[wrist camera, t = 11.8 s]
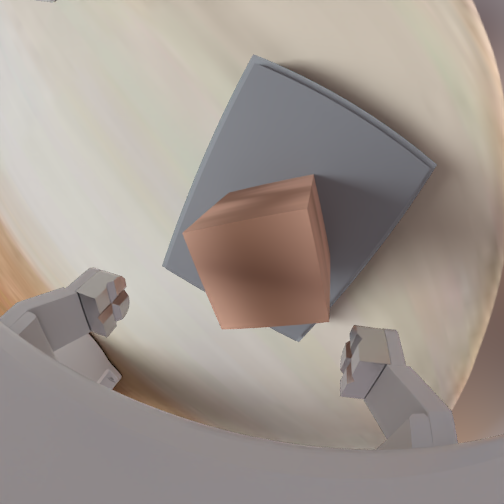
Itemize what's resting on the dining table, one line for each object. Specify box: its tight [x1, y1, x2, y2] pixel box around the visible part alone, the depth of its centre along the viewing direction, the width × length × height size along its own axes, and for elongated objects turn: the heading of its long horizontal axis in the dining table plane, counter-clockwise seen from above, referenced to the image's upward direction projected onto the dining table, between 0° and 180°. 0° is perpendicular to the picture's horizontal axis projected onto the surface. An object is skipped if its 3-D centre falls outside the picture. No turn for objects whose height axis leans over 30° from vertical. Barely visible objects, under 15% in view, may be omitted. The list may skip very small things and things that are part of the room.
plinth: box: [162, 54, 437, 342], centre depth 18 cm, size 16×12×4 cm
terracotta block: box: [182, 174, 330, 329], centre depth 14 cm, size 5×5×6 cm
